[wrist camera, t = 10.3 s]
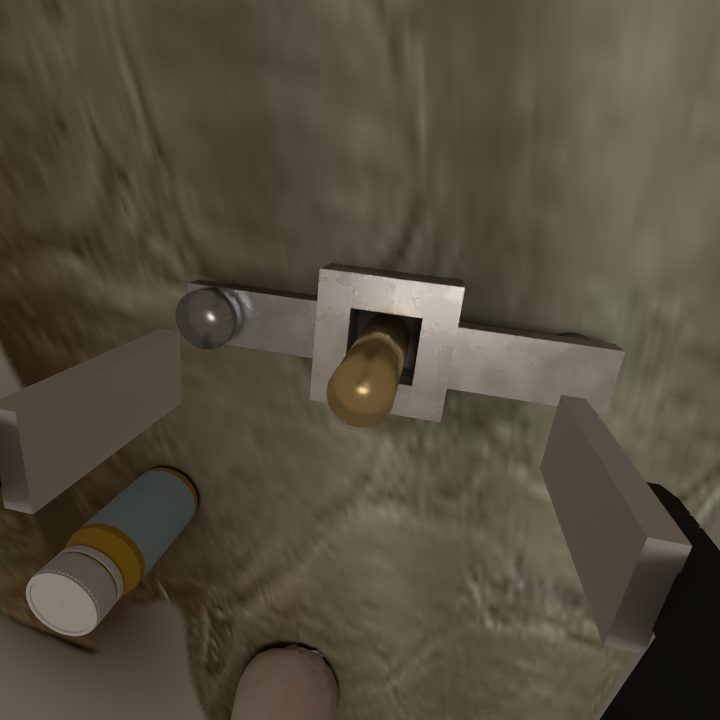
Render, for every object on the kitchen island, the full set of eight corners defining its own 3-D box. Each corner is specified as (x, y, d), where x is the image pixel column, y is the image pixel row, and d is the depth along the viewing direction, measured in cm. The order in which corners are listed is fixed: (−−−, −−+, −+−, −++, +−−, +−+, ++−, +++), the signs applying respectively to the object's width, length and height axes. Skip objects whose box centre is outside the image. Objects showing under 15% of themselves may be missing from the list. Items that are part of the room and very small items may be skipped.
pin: (367, 309, 39) (329, 357, 26) (413, 316, 39) (398, 368, 25) (362, 353, 40) (323, 420, 27) (406, 360, 40) (389, 432, 27)
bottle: (211, 489, 48) (115, 604, 34) (184, 531, 50) (83, 654, 36) (156, 452, 48) (36, 552, 34) (131, 496, 50) (9, 606, 36)
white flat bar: (199, 245, 40) (173, 249, 36) (617, 300, 35) (638, 310, 32) (200, 363, 43) (177, 377, 40) (580, 426, 39) (595, 449, 35)
